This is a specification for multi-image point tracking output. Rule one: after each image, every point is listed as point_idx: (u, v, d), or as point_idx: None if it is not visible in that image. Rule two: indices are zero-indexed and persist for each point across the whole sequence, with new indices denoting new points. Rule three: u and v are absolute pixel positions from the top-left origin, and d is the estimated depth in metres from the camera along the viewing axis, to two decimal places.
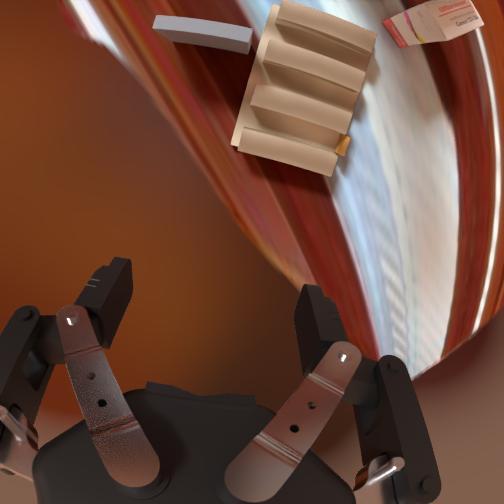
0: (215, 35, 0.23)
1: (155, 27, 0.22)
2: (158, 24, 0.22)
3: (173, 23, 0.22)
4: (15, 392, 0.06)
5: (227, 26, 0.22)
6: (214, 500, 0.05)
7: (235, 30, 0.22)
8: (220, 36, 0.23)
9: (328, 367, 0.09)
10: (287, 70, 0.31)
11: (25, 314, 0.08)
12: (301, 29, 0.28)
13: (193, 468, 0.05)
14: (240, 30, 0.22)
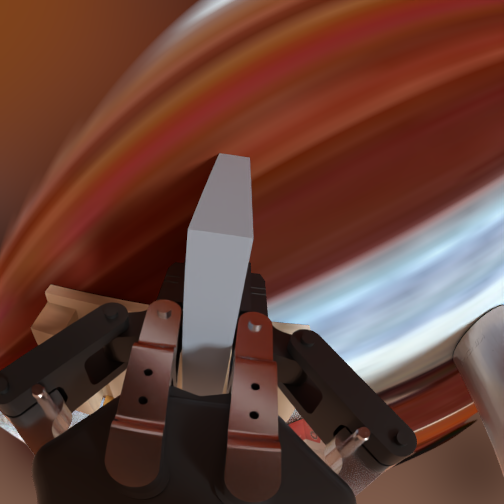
0: None
1: (192, 241, 0.07)
2: (206, 251, 0.07)
3: (211, 300, 0.08)
4: (65, 379, 0.07)
5: None
6: None
7: None
8: None
9: (246, 343, 0.09)
10: None
11: (111, 312, 0.09)
12: None
13: (193, 468, 0.05)
14: None
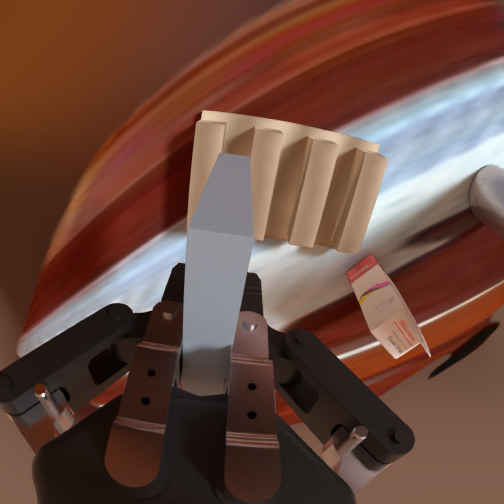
0: None
1: (192, 240, 0.07)
2: (206, 251, 0.07)
3: (212, 300, 0.08)
4: (68, 379, 0.07)
5: None
6: None
7: None
8: None
9: (242, 342, 0.09)
10: (300, 163, 0.32)
11: (116, 312, 0.09)
12: (351, 176, 0.31)
13: (193, 468, 0.05)
14: None
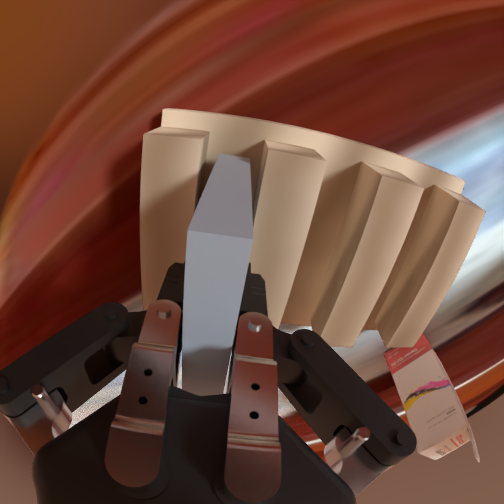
0: None
1: (192, 242, 0.07)
2: (206, 253, 0.07)
3: (211, 301, 0.08)
4: (65, 379, 0.07)
5: None
6: None
7: None
8: (184, 389, 0.11)
9: (246, 343, 0.09)
10: (344, 210, 0.18)
11: (110, 312, 0.09)
12: (424, 233, 0.17)
13: (193, 468, 0.05)
14: None
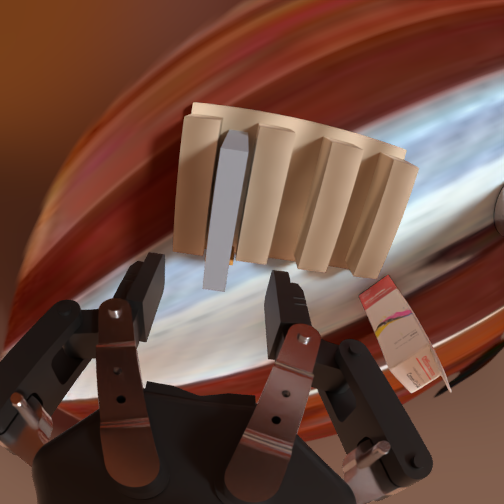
0: (208, 248, 0.19)
1: (222, 153, 0.16)
2: (228, 158, 0.16)
3: (228, 184, 0.17)
4: (38, 383, 0.06)
5: (224, 262, 0.20)
6: None
7: (219, 272, 0.20)
8: None
9: (291, 352, 0.09)
10: (313, 170, 0.26)
11: (64, 308, 0.08)
12: (374, 186, 0.26)
13: (193, 468, 0.05)
14: (220, 278, 0.21)
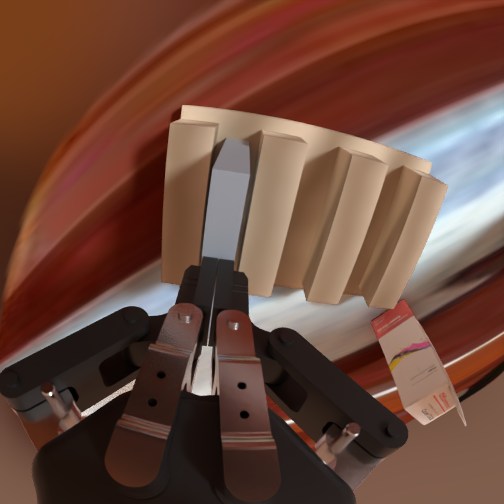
0: None
1: (214, 176, 0.12)
2: (222, 182, 0.12)
3: (224, 216, 0.13)
4: (78, 379, 0.07)
5: None
6: None
7: None
8: None
9: (227, 341, 0.09)
10: (327, 186, 0.22)
11: (131, 316, 0.09)
12: (396, 206, 0.22)
13: (193, 468, 0.05)
14: None
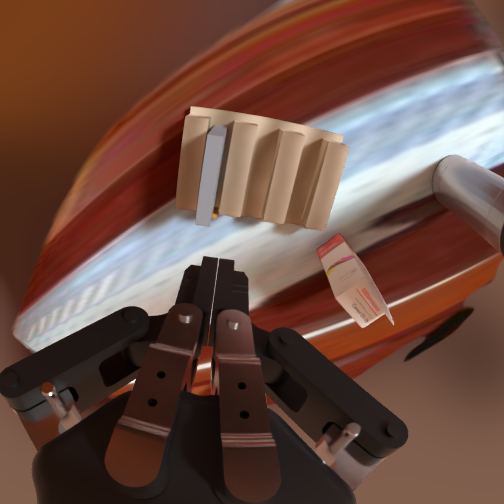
0: (199, 196, 0.31)
1: (208, 137, 0.27)
2: (211, 140, 0.27)
3: (212, 155, 0.28)
4: (78, 379, 0.07)
5: (209, 205, 0.31)
6: None
7: (206, 212, 0.31)
8: (198, 200, 0.31)
9: (227, 341, 0.09)
10: (273, 151, 0.37)
11: (131, 316, 0.09)
12: (318, 162, 0.37)
13: (193, 468, 0.05)
14: (206, 216, 0.32)
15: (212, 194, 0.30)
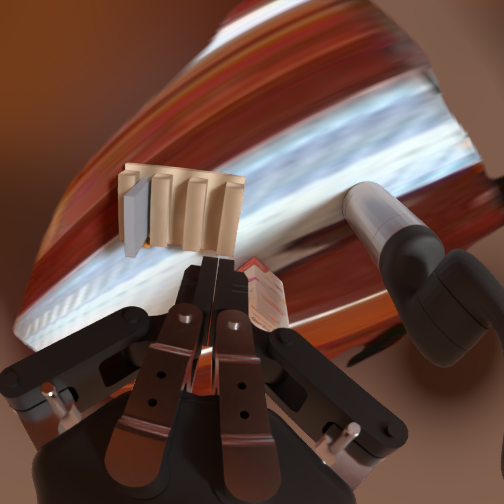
0: (125, 237, 0.41)
1: (124, 198, 0.38)
2: (127, 199, 0.38)
3: (128, 210, 0.39)
4: (78, 379, 0.07)
5: (132, 243, 0.42)
6: None
7: (131, 248, 0.42)
8: (125, 240, 0.41)
9: (227, 341, 0.09)
10: None
11: (131, 316, 0.09)
12: None
13: (193, 468, 0.05)
14: (132, 251, 0.42)
15: (133, 236, 0.41)
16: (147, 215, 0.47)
